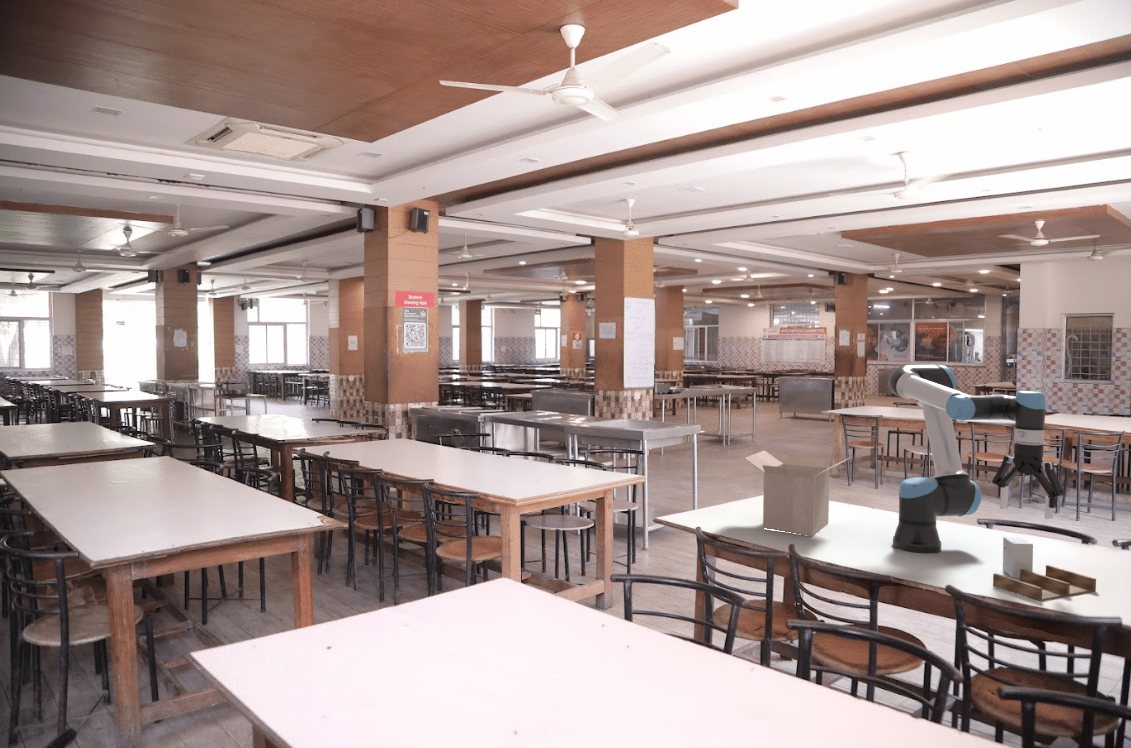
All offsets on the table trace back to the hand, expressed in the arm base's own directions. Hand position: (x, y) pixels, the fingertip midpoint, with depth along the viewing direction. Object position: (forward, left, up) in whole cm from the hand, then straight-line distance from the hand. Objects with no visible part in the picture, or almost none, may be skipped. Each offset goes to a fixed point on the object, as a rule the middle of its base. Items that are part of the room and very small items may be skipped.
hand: (1025, 513), depth 227 cm
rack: (+11, -6, -19) cm, 23 cm away
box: (-73, -25, -19) cm, 80 cm away
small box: (-1, -1, -19) cm, 19 cm away
